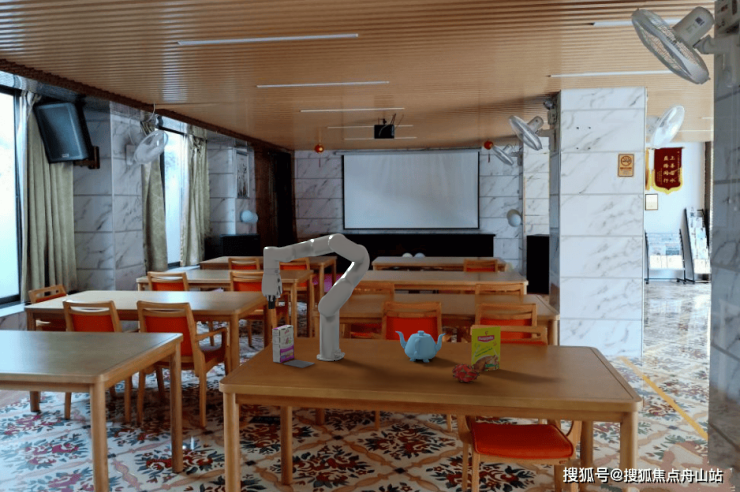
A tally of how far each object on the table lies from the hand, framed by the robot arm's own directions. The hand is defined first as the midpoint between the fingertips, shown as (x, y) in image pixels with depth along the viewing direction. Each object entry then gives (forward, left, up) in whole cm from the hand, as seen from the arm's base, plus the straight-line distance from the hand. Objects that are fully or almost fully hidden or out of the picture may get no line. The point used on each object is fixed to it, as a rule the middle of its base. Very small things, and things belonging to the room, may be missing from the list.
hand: (271, 308), depth 293 cm
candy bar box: (-8, 0, -25) cm, 26 cm away
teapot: (-62, -40, -25) cm, 78 cm away
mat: (-19, +1, -25) cm, 31 cm away
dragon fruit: (-97, -18, -25) cm, 101 cm away
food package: (-97, -39, -25) cm, 107 cm away
